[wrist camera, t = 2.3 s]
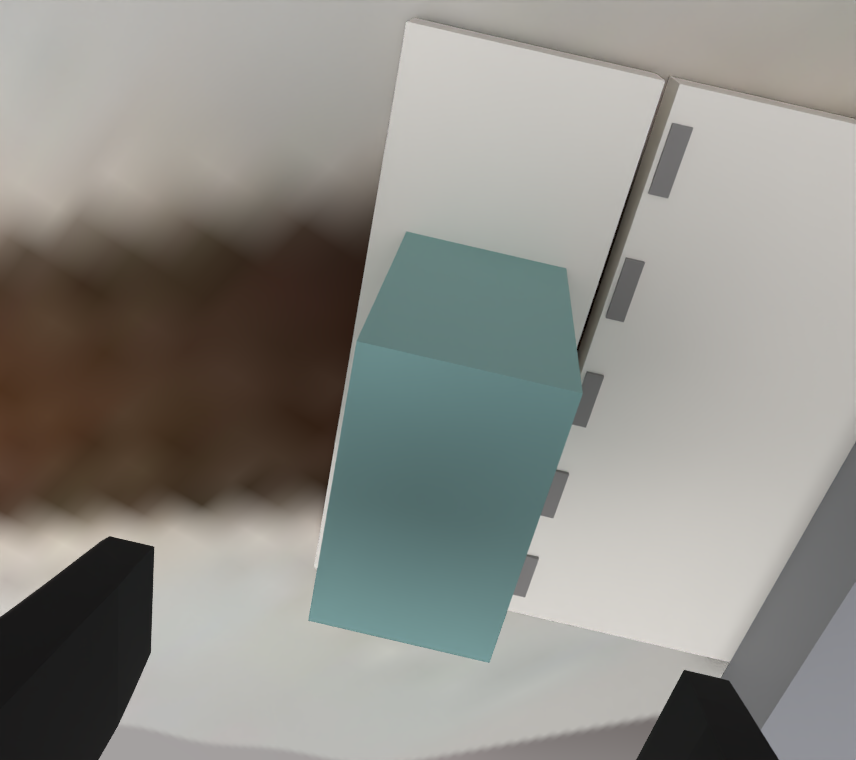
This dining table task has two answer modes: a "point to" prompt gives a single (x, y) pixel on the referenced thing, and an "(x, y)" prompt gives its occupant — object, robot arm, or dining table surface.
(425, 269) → the stub
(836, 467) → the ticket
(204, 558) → the dining table surface
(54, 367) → the dining table surface
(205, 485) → the dining table surface
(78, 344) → the dining table surface
